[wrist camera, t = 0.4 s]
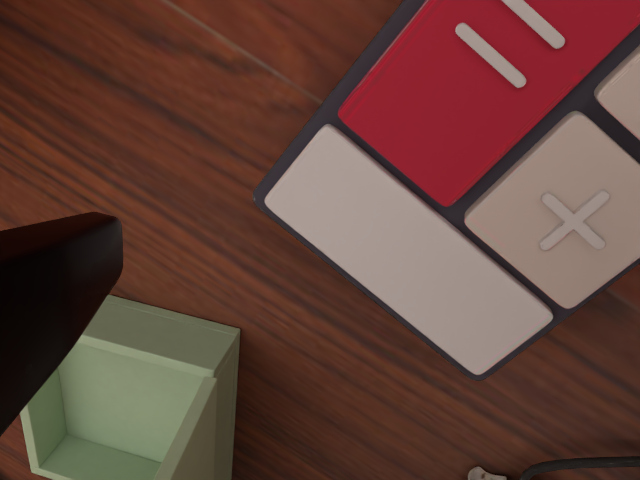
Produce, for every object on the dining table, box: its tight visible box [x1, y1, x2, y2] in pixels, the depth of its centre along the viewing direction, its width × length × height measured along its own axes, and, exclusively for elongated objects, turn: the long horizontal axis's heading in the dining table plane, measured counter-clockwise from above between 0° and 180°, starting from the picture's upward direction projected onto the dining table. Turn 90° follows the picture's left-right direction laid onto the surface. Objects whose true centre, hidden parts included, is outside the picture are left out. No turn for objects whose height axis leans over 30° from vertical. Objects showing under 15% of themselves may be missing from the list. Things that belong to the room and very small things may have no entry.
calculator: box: [253, 0, 640, 381], centre depth 19 cm, size 11×4×15 cm
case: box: [20, 295, 240, 480], centre depth 31 cm, size 11×11×3 cm
